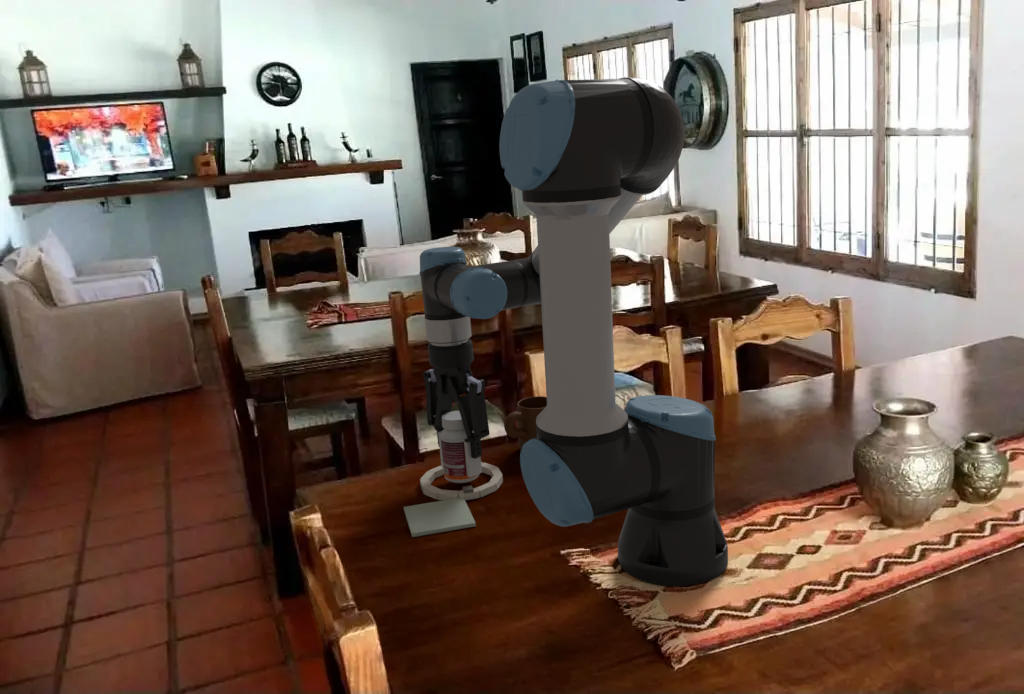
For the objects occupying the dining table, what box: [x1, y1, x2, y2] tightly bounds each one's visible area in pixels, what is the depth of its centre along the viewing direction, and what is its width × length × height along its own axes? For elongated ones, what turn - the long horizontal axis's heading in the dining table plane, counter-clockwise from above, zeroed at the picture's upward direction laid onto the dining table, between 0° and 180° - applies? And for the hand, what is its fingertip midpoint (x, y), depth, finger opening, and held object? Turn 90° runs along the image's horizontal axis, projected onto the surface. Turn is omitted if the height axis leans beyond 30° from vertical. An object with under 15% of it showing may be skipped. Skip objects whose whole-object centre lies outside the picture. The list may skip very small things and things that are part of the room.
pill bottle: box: [441, 410, 480, 484], centre depth 149 cm, size 6×6×11 cm
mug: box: [503, 395, 547, 451], centre depth 162 cm, size 12×8×9 cm, turn 134°
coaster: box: [403, 497, 477, 538], centre depth 139 cm, size 10×10×1 cm
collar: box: [419, 461, 504, 501], centre depth 151 cm, size 14×14×2 cm
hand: (461, 469), depth 150 cm, fingers closed on pill bottle, 6 cm apart
